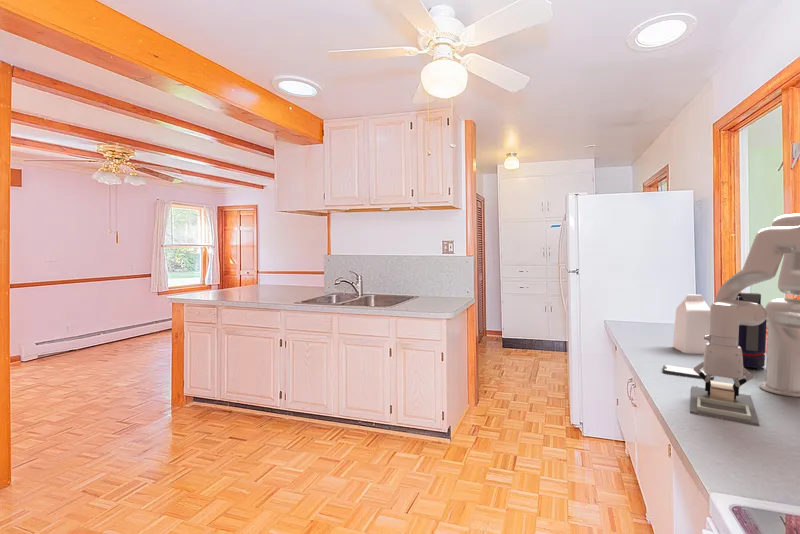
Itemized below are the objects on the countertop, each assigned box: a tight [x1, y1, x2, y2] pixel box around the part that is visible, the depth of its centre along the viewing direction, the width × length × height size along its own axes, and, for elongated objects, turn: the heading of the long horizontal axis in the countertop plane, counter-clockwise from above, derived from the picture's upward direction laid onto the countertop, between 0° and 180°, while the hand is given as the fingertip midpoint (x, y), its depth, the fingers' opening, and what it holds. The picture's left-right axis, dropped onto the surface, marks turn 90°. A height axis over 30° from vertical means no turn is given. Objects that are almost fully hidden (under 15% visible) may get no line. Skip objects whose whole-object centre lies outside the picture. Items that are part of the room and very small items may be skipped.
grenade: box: [735, 292, 767, 371], centre depth 173 cm, size 14×12×30 cm
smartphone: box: [662, 364, 715, 381], centre depth 165 cm, size 9×2×16 cm
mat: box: [689, 385, 760, 427], centre depth 134 cm, size 26×16×1 cm, turn 145°
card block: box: [710, 380, 734, 403], centre depth 139 cm, size 9×6×4 cm, turn 145°
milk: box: [672, 294, 710, 355], centre depth 198 cm, size 12×12×26 cm
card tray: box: [697, 397, 751, 420], centre depth 129 cm, size 13×10×1 cm
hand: (721, 395), depth 139 cm, fingers closed on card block, 6 cm apart
